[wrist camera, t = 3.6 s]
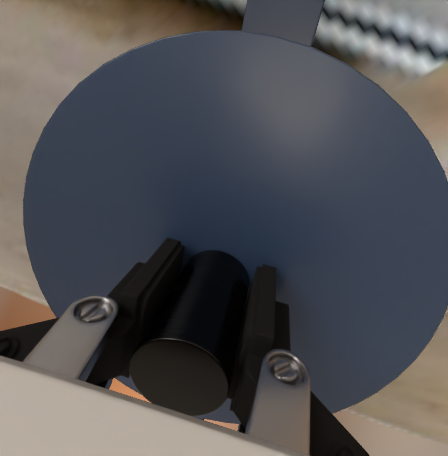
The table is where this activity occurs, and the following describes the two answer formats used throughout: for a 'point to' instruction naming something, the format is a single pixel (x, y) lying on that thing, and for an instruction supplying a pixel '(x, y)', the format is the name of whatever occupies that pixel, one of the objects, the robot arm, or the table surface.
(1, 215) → the table surface
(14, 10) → the table surface
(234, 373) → the robot arm
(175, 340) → the lid
